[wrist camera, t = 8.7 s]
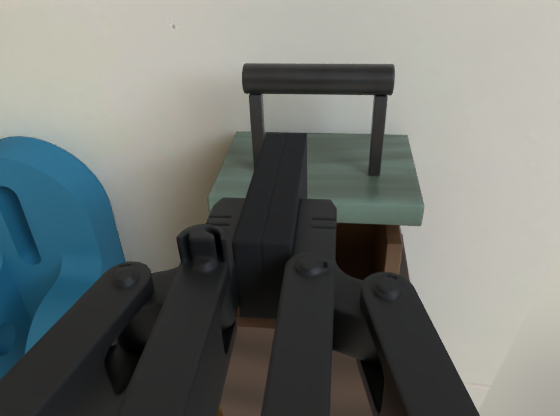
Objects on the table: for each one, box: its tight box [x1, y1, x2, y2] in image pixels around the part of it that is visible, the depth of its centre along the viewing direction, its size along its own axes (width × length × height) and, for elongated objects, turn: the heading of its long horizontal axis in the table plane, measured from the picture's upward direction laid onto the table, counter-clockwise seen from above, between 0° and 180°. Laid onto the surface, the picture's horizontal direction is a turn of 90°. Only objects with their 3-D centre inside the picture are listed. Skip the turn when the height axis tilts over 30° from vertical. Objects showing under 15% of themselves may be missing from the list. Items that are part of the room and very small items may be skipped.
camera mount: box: [0, 137, 125, 380], centre depth 34 cm, size 18×10×10 cm, turn 2°
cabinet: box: [221, 234, 410, 416], centre depth 35 cm, size 14×12×10 cm
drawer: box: [208, 63, 424, 317], centre depth 29 cm, size 18×10×8 cm, turn 2°
